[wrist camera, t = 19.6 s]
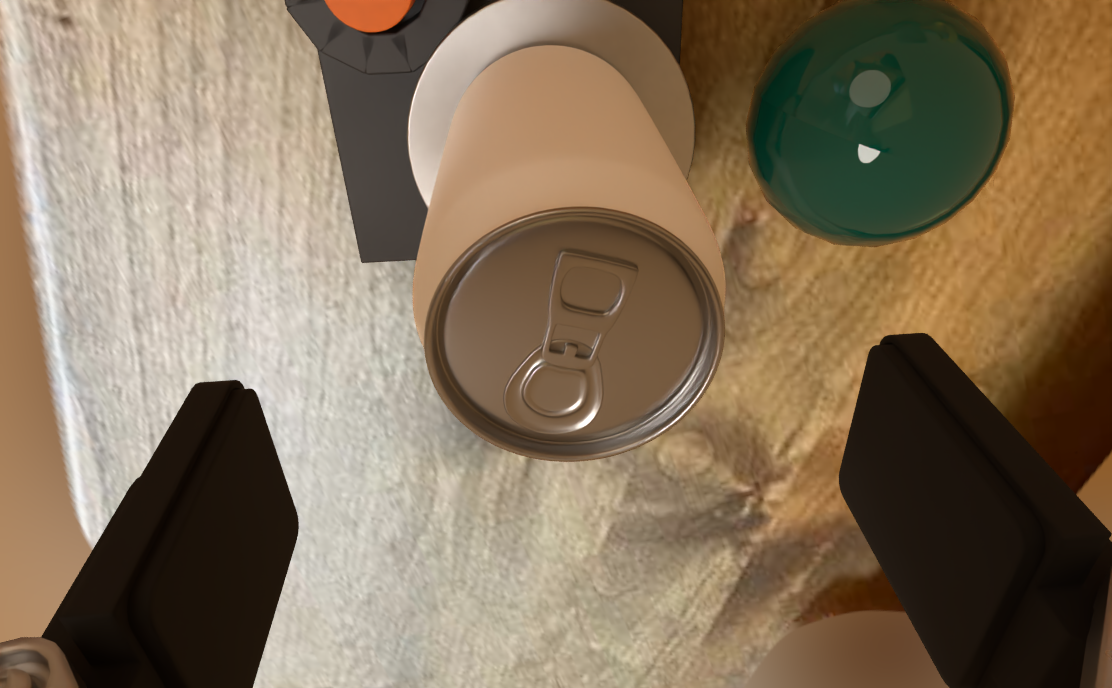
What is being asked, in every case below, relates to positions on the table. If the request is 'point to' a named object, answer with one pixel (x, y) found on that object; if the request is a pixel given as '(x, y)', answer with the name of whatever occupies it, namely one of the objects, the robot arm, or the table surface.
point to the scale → (400, 107)
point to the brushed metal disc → (535, 20)
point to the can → (565, 265)
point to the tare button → (370, 13)
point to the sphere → (879, 120)
